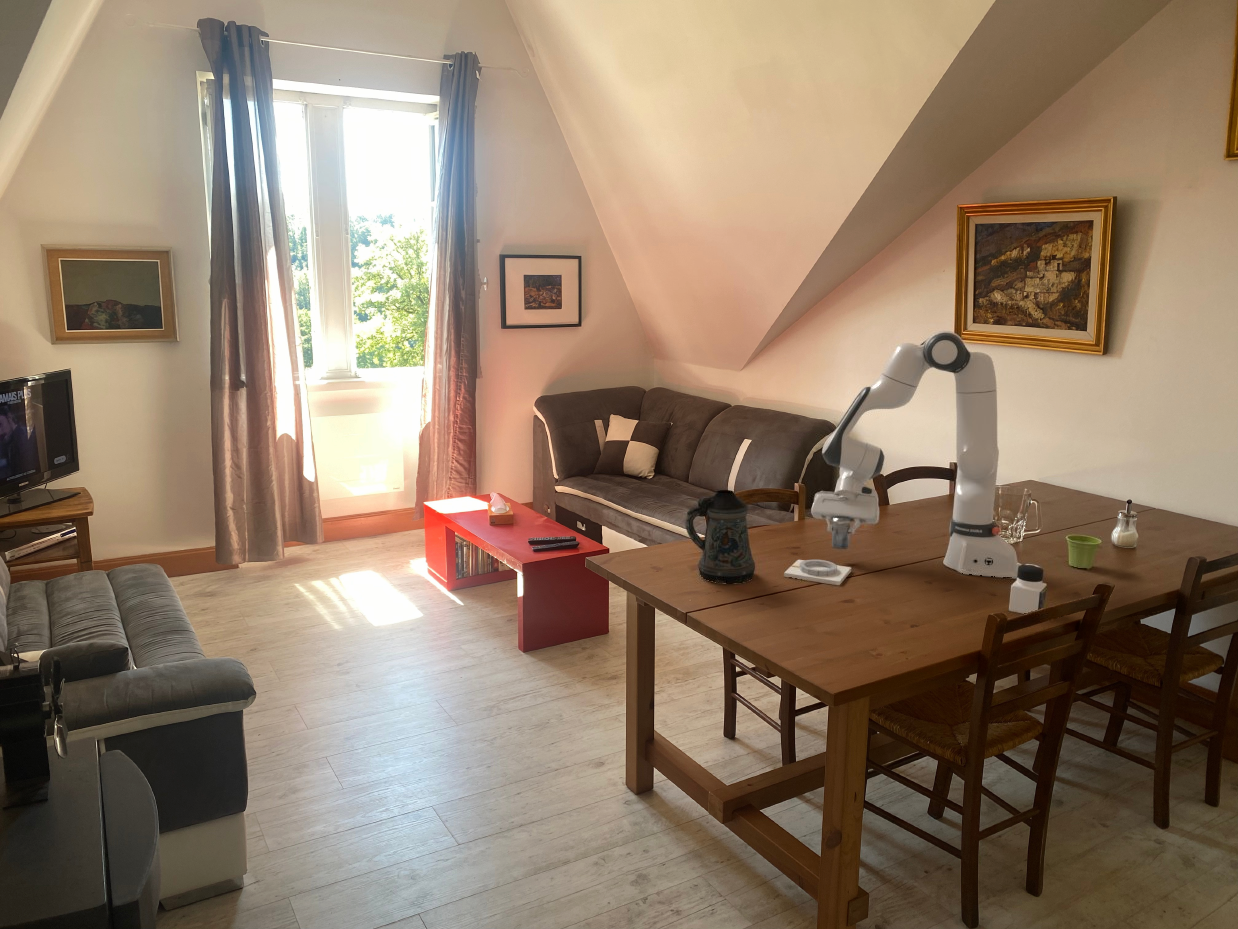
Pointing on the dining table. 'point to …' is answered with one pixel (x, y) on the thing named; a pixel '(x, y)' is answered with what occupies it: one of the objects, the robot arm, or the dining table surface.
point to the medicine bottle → (1028, 590)
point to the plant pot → (1082, 550)
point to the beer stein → (723, 538)
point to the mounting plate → (819, 578)
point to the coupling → (840, 532)
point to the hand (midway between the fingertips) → (840, 531)
